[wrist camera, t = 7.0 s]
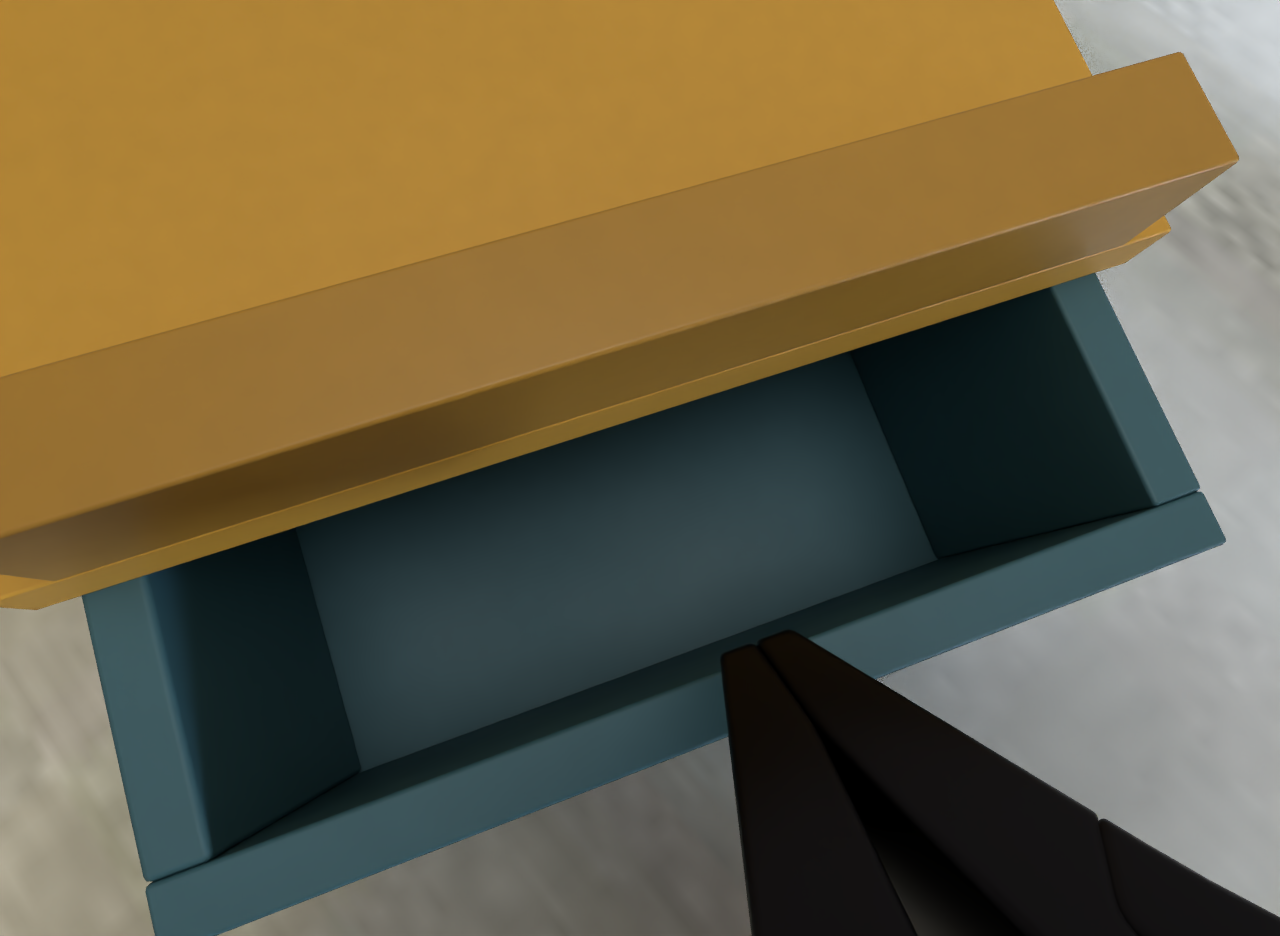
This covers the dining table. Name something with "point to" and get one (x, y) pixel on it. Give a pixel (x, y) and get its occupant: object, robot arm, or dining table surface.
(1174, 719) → the dining table surface
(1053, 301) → the storage bin
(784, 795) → the robot arm
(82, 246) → the bin lid
